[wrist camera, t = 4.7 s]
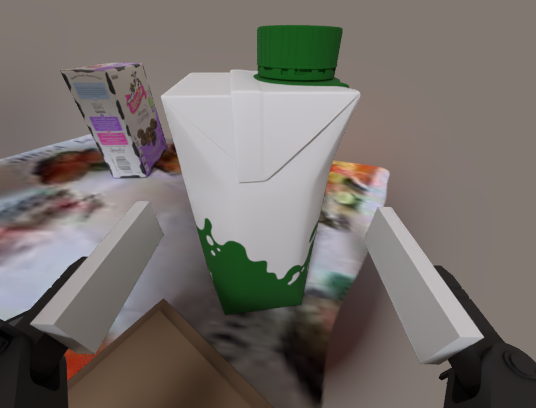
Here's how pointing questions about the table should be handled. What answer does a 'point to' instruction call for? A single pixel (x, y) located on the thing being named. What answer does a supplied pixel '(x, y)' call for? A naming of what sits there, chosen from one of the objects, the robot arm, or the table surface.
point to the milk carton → (262, 161)
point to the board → (161, 370)
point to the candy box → (119, 115)
